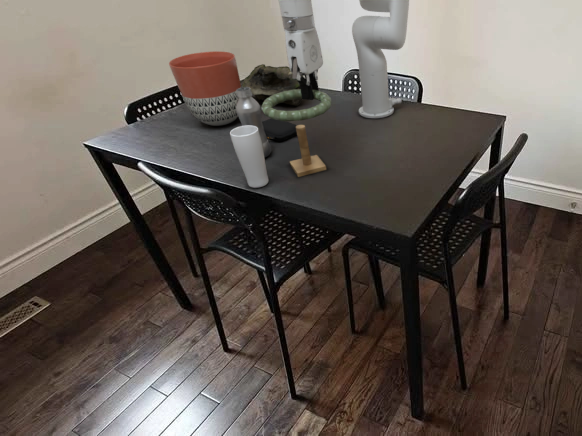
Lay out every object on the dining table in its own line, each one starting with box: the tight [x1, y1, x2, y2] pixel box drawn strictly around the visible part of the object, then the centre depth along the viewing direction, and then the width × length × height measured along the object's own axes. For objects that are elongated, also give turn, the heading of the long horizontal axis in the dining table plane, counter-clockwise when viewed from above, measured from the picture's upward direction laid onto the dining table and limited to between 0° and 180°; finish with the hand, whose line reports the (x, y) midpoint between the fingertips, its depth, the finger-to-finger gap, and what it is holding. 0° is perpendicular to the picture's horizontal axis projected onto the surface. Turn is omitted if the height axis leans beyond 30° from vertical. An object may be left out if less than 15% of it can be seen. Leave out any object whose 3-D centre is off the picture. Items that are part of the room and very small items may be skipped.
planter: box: [168, 50, 242, 127], centre depth 139 cm, size 20×20×21 cm
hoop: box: [260, 89, 332, 122], centre depth 106 cm, size 17×17×2 cm
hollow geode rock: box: [242, 63, 304, 107], centre depth 159 cm, size 28×13×15 cm
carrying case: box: [262, 118, 297, 142], centre depth 135 cm, size 11×3×15 cm
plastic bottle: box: [236, 86, 272, 158], centre depth 117 cm, size 6×7×20 cm
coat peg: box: [289, 124, 327, 178], centre depth 113 cm, size 8×8×12 cm
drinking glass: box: [229, 125, 270, 189], centre depth 106 cm, size 7×7×15 cm
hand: (310, 96), depth 112 cm, fingers closed on hoop, 2 cm apart
